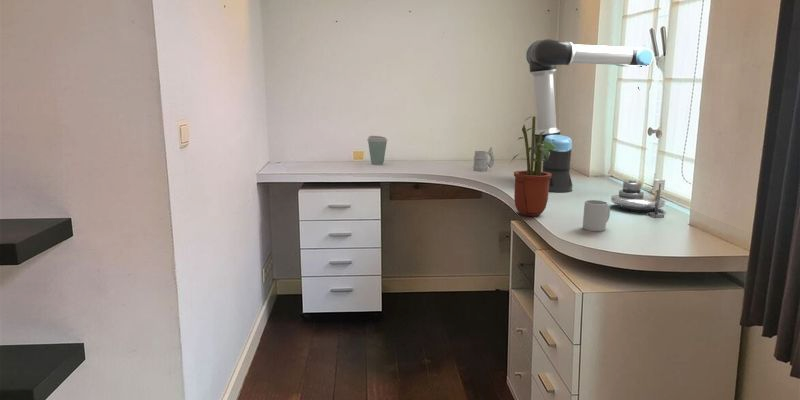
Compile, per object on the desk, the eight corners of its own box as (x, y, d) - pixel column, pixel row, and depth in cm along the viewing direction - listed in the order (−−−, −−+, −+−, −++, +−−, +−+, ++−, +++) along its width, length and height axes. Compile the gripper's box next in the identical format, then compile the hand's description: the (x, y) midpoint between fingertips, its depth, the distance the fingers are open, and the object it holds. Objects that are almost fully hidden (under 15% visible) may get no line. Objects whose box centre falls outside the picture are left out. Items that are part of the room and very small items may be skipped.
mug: (470, 169, 321) (471, 146, 319) (489, 168, 326) (490, 146, 323) (477, 171, 314) (478, 148, 312) (497, 171, 319) (498, 148, 316)
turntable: (627, 208, 222) (630, 185, 220) (601, 198, 240) (603, 176, 238) (675, 207, 225) (677, 185, 223) (646, 197, 243) (648, 176, 242)
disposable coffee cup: (390, 163, 335) (391, 136, 332) (379, 166, 326) (379, 137, 323) (374, 162, 340) (375, 135, 337) (363, 164, 331) (363, 136, 328)
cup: (577, 227, 201) (579, 201, 199) (599, 224, 206) (601, 198, 204) (594, 232, 195) (597, 205, 193) (616, 229, 200) (618, 202, 198)
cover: (626, 199, 232) (627, 183, 230) (614, 194, 240) (615, 179, 239) (648, 198, 233) (649, 182, 232) (635, 194, 242) (636, 179, 241)
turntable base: (631, 212, 227) (631, 206, 226) (615, 205, 237) (616, 200, 237) (658, 211, 228) (658, 206, 228) (641, 205, 239) (642, 200, 239)
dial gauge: (653, 217, 218) (657, 180, 216) (644, 213, 224) (648, 178, 222) (664, 217, 219) (668, 180, 217) (654, 213, 225) (658, 178, 222)
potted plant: (541, 220, 210) (548, 117, 203) (499, 214, 218) (504, 115, 211) (557, 211, 224) (564, 115, 217) (517, 206, 232) (523, 113, 225)
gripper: (672, 81, 265) (666, 130, 269) (639, 80, 288) (634, 125, 293) (656, 80, 263) (650, 130, 267) (624, 80, 287) (619, 125, 291)
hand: (642, 128), depth 280 cm, fingers open, 13 cm apart
